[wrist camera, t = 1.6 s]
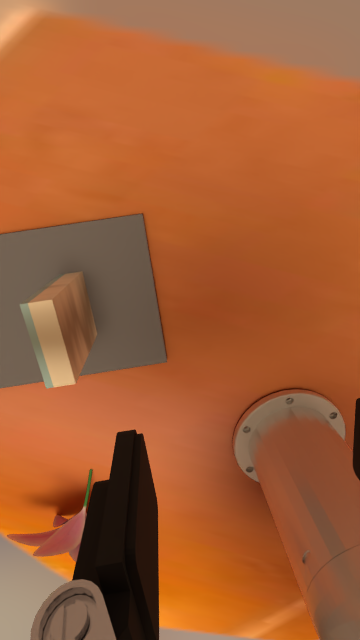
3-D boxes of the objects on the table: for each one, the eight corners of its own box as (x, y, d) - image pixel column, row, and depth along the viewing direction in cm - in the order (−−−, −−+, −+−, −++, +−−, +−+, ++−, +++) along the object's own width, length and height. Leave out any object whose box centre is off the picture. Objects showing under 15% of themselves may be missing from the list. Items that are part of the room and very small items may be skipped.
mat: (166, 358, 33) (167, 362, 32) (-54, 392, 32) (-58, 397, 32) (142, 213, 28) (142, 213, 27) (-116, 251, 28) (-124, 252, 27)
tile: (97, 334, 31) (75, 383, 22) (76, 337, 31) (46, 388, 22) (82, 271, 29) (51, 299, 20) (59, 274, 28) (19, 304, 20)
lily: (15, 477, 38) (-13, 584, 31) (64, 447, 31) (41, 574, 25) (104, 491, 44) (95, 582, 38) (160, 469, 38) (161, 574, 32)
